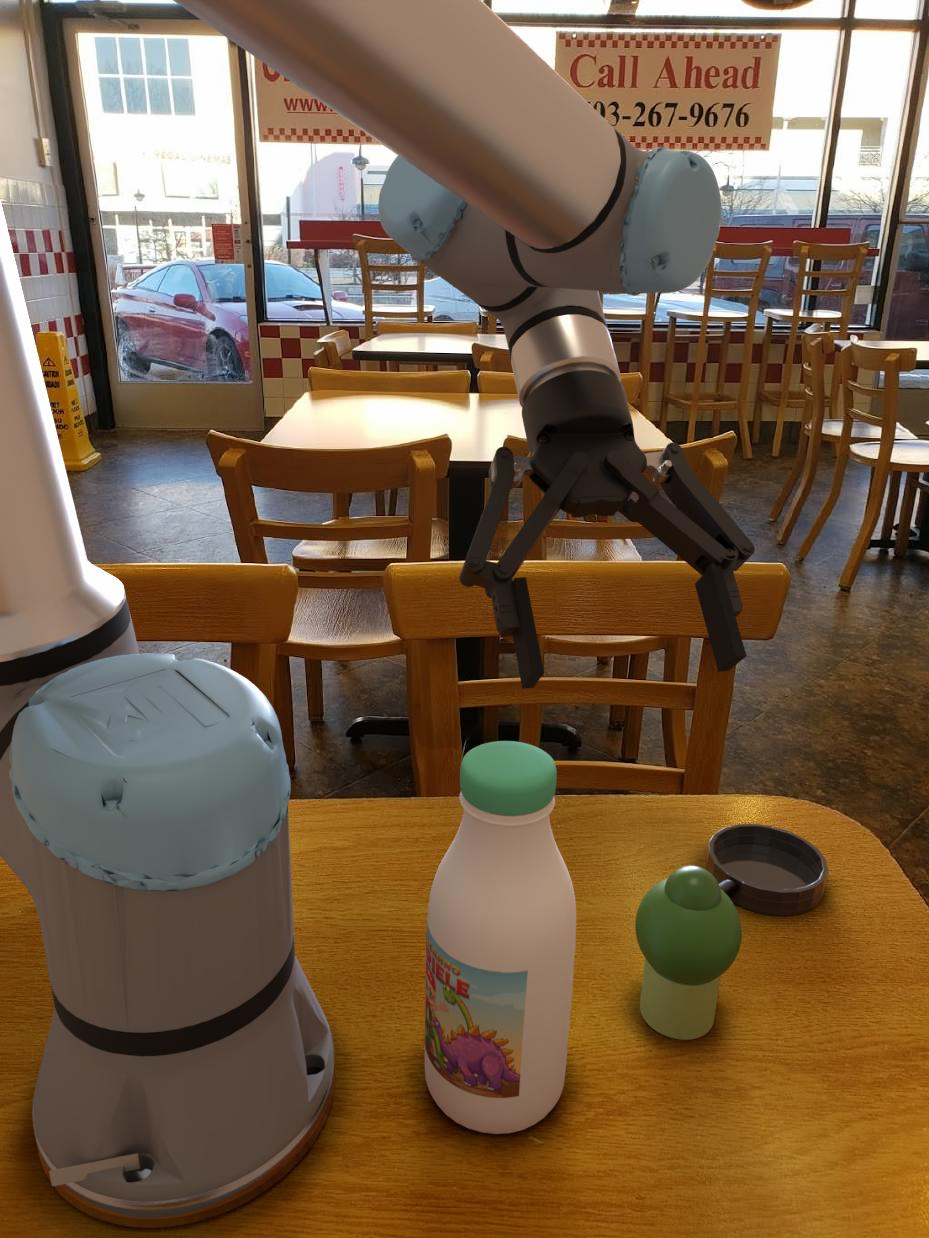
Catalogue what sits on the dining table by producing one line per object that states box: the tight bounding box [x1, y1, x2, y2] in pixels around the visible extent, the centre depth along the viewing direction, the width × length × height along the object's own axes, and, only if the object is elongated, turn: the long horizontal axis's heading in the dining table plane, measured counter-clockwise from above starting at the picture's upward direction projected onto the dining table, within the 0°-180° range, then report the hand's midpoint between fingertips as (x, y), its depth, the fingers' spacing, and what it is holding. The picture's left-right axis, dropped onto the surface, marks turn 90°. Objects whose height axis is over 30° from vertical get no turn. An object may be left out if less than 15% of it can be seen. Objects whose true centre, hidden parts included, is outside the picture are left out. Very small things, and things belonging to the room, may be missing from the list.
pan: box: [705, 823, 829, 917], centre depth 69 cm, size 8×8×2 cm
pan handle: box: [719, 880, 737, 898], centre depth 64 cm, size 1×8×1 cm, turn 131°
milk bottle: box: [424, 740, 577, 1135], centre depth 48 cm, size 8×8×20 cm
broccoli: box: [634, 865, 743, 1041], centre depth 55 cm, size 6×6×10 cm
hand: (635, 673), depth 60 cm, fingers open, 13 cm apart
